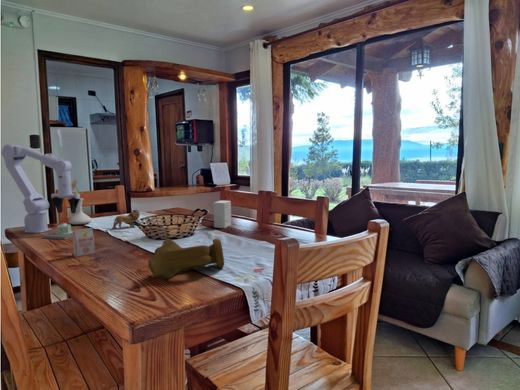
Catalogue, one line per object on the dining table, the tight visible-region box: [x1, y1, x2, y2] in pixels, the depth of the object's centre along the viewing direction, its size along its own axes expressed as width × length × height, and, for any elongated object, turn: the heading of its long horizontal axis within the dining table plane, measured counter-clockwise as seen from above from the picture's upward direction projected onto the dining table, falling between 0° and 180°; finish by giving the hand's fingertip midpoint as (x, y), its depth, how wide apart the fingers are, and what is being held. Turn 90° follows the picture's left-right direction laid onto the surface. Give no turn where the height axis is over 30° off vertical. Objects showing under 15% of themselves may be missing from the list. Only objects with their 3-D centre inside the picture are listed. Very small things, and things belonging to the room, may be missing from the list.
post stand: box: [42, 222, 74, 240], centre depth 170 cm, size 12×13×6 cm
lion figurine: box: [111, 209, 141, 230], centre depth 185 cm, size 15×5×9 cm, turn 131°
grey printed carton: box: [72, 227, 96, 258], centre depth 138 cm, size 4×7×10 cm, turn 129°
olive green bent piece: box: [148, 237, 225, 280], centre depth 118 cm, size 18×13×22 cm
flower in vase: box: [68, 178, 93, 225], centre depth 194 cm, size 13×11×25 cm
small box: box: [213, 200, 232, 229], centre depth 187 cm, size 8×6×13 cm
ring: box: [56, 223, 72, 234], centre depth 170 cm, size 6×6×3 cm
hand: (66, 212), depth 176 cm, fingers open, 7 cm apart
